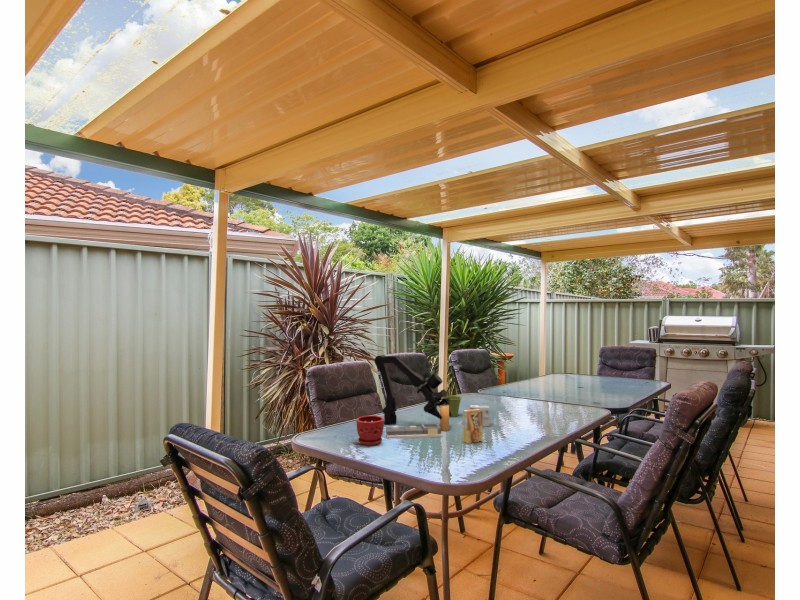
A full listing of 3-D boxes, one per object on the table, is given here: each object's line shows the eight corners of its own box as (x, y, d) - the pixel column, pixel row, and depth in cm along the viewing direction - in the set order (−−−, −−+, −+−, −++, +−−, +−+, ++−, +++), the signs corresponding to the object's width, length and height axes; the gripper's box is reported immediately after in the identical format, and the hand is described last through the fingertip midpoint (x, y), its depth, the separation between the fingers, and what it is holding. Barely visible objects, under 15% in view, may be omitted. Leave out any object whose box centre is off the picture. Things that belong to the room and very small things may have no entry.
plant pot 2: (441, 417, 275) (441, 398, 275) (443, 413, 287) (443, 395, 287) (461, 418, 273) (461, 399, 273) (462, 414, 285) (461, 395, 285)
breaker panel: (387, 438, 226) (387, 429, 226) (385, 432, 238) (385, 424, 238) (442, 437, 229) (442, 428, 229) (437, 431, 241) (437, 422, 241)
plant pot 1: (352, 441, 221) (352, 417, 221) (376, 438, 227) (376, 414, 228) (363, 448, 209) (363, 422, 210) (388, 444, 216) (388, 419, 217)
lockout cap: (440, 431, 241) (440, 406, 242) (439, 428, 246) (438, 404, 247) (450, 430, 242) (449, 405, 242) (448, 428, 247) (447, 404, 247)
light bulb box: (488, 424, 258) (488, 404, 258) (490, 426, 251) (489, 407, 252) (469, 423, 259) (469, 404, 259) (470, 426, 252) (470, 406, 253)
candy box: (477, 439, 225) (477, 408, 225) (483, 441, 221) (482, 409, 221) (462, 441, 221) (462, 409, 221) (467, 443, 217) (467, 411, 218)
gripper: (427, 387, 240) (445, 410, 233) (447, 383, 255) (464, 405, 248) (416, 400, 245) (433, 423, 238) (435, 395, 260) (452, 417, 252)
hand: (446, 417), depth 244 cm, fingers open, 9 cm apart
